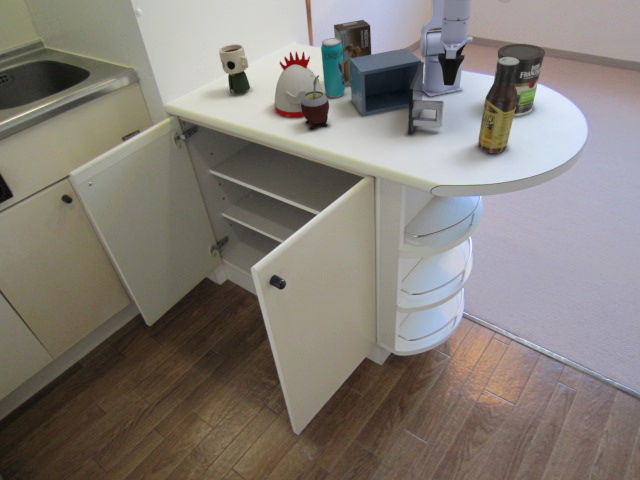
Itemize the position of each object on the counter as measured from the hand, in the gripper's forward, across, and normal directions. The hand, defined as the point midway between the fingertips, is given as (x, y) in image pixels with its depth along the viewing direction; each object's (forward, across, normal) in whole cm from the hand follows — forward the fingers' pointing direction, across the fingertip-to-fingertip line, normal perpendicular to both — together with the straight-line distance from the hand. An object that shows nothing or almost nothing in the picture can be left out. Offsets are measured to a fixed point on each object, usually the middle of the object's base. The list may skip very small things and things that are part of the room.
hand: (450, 78), depth 110 cm
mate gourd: (+11, -7, +32) cm, 34 cm away
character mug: (+11, +12, +62) cm, 64 cm away
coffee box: (+11, +22, +29) cm, 37 cm away
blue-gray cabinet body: (+10, +8, +17) cm, 21 cm away
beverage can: (+11, +12, +32) cm, 36 cm away
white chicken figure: (+11, +3, +40) cm, 42 cm away
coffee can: (+11, +8, -15) cm, 20 cm away
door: (+10, -1, +4) cm, 11 cm away
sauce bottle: (+11, -13, -11) cm, 20 cm away
